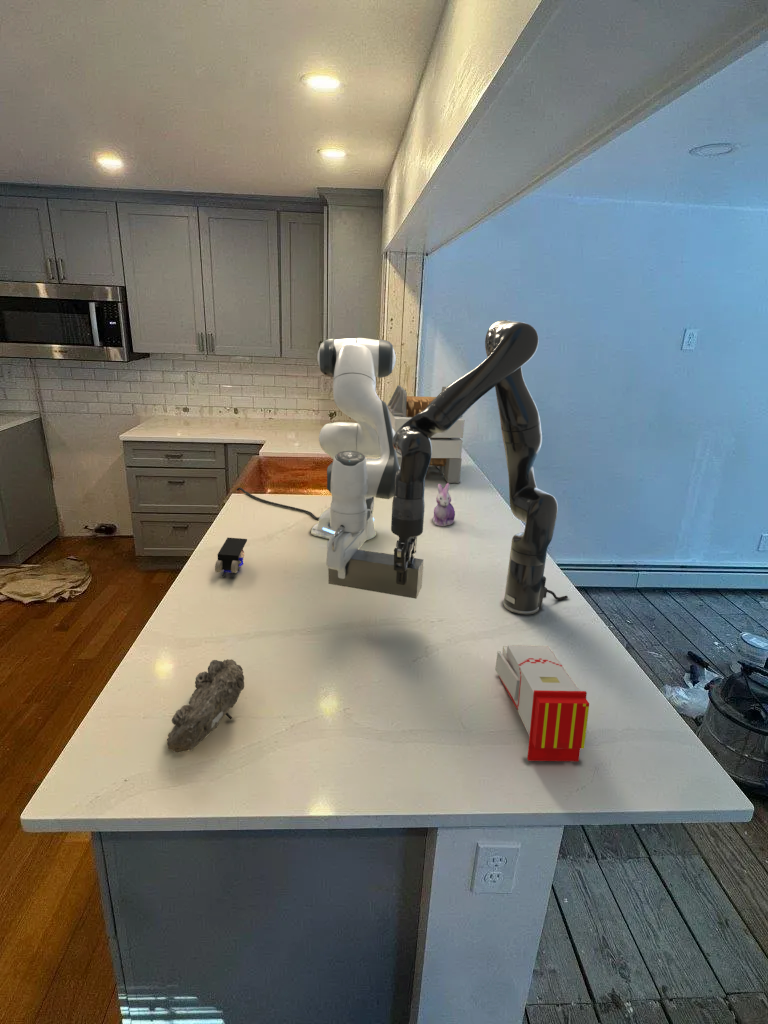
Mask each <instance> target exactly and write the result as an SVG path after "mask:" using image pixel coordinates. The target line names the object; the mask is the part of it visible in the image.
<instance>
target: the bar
mask: <svg viewBox="0 0 768 1024" xmlns="http://www.w3.org/2000/svg"><path fill="white" fill-rule="evenodd" d="M405 558H407V557H405ZM399 565H402V564H401V563H399ZM327 568H328V567H327ZM345 569H346V570H347V575H346V577H345V578H344V579H342V578H338V571H337V570H335V569H330V568H328V569H327V570H328V571H327V572H328V575H327V576H328V577H327V578H328V579H327V580H328V581H327V583H328V585H333V586H339V587H345V588H350V589H355V590H356V589H357V590H362V591H368V592H375V593H380V594H385V595H390V596H391V595H392V596H397V597H398V596H399V597H404V598H409V599H417V598H418V596H419V594H420V593H421V590H422V588H423V576H424V575H423V574H424V573H423V572H424V559H423V558H417V557H414V558H410V561H409V562H408V564H407V570H406V583H405V585H399V584H397V583H396V575H397V571H395V570H394V554H391V553H385V552H377V551H370V550H365V549H359V550H357V551H356V553H355V554H354V555H353V556H352V557H351V559H350V560H349V561H348V562H347V564H346V566H345Z"/></svg>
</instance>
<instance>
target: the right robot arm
mask: <svg viewBox="0 0 768 1024" xmlns="http://www.w3.org/2000/svg"><path fill="white" fill-rule="evenodd" d="M484 348H485V353H486V357H487V358H486V359H484V360H483V361H482V362H481V363H480V364H479V365H477V366H476V367H474V368H473V369H472V370H470V371H468V372H467V373H466V374H464V375H462V376H461V377H458V378H457V379H456V380H454V381H453V382H452V383H450V384H449V385H447V386H445V387H446V388H445V389H444V390H443V391H442V390H441V391H440V392H439V393H438V395H437V396H435V397H436V398H435V399H434V400H433V401H432V402H431V403H430V404H429V405H428V406H427V407H426V408H425V409H424V410H423V411H421V412H420V413H418V414H417V415H415V416H414V417H412V418H411V419H410V420H408V421H407V422H406V423H404V424H403V425H402V426H401V427H400V428H399V429H398V430H397V432H396V433H395V435H394V437H393V447H394V449H395V451H396V452H397V453H398V454H399V455H401V457H402V460H401V467H400V470H398V471H397V472H396V475H395V481H394V496H393V497H392V498H393V499H392V501H391V503H392V504H391V521H390V531H391V533H392V534H393V535H395V536H397V537H398V539H397V540H396V544H395V547H394V549H393V555H394V570H395V571H397V575H396V583H397V584H399V585H405V583H406V570H407V564H408V562H409V561H410V558H415V555H416V553H417V542H418V537H419V536H421V535H422V534H423V532H424V523H425V521H424V519H425V507H426V506H425V505H426V504H425V489H426V477H427V473H428V470H429V467H430V466H429V464H430V460H431V455H432V445H431V441H430V438H431V437H432V436H433V435H435V434H436V433H443V432H446V431H447V430H448V429H449V428H450V427H451V426H452V425H453V424H454V423H455V422H456V421H457V420H458V419H459V418H460V417H461V416H462V417H463V416H464V414H465V413H466V412H468V410H469V409H470V408H471V407H472V406H474V405H475V404H476V403H477V402H478V401H479V400H480V399H481V398H483V397H484V396H485V395H486V394H487V393H489V392H490V391H491V390H492V389H493V388H494V389H495V396H496V403H497V409H498V415H499V421H500V430H501V437H502V443H503V448H504V454H505V461H506V468H507V474H508V494H509V495H508V497H509V498H508V499H509V507H510V510H511V513H512V515H513V516H514V517H515V518H516V519H518V520H520V521H521V522H522V523H525V525H524V526H525V527H524V531H523V532H518V533H516V534H514V535H513V536H512V538H511V542H510V551H509V560H508V567H507V574H506V582H505V590H504V598H503V601H502V602H503V603H502V604H503V607H504V608H505V609H506V610H508V611H509V612H512V613H514V614H517V615H525V616H529V615H533V614H536V613H537V612H539V611H540V610H542V608H543V601H544V599H546V598H547V594H550V595H552V597H553V598H554V599H555V600H557V601H562V600H565V599H568V595H563V596H559V597H558V596H557V595H556V593H555V592H554V591H553V590H550V589H548V588H547V587H546V581H547V576H545V575H544V574H545V568H546V561H547V554H548V548H549V545H550V544H551V542H552V540H553V536H554V533H555V527H556V523H557V518H558V514H559V513H558V512H559V503H558V500H557V499H556V497H555V496H554V495H552V494H551V493H548V492H546V491H545V490H542V489H540V488H538V486H537V482H536V479H535V471H534V469H535V468H534V467H535V462H536V459H537V457H538V455H539V453H540V450H541V447H542V443H543V433H542V423H541V417H540V413H539V410H538V407H537V405H536V402H535V400H534V398H533V396H532V395H531V392H530V391H529V389H528V386H527V384H526V381H525V379H524V376H523V375H524V374H523V369H522V367H523V366H524V365H525V364H526V363H528V362H529V361H530V360H531V359H532V358H533V357H534V355H535V354H536V352H537V350H538V348H539V334H538V331H537V330H536V328H535V327H534V326H532V325H531V324H529V323H527V322H523V321H516V320H509V319H501V320H497V321H495V322H493V323H492V324H491V325H490V327H489V328H488V330H487V331H486V334H485V338H484ZM462 417H461V418H462ZM405 557H407V558H405ZM399 563H401V564H402V565H399Z"/></svg>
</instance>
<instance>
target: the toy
mask: <svg viewBox="0 0 768 1024" xmlns="http://www.w3.org/2000/svg"><path fill="white" fill-rule="evenodd" d="M494 668H495V672H496V673H497V675H498V677H499V680H500V682H501V683H502V685H503V687H504V688H505V691H506V692H507V694H508V696H509V698H510V700H511V701H512V704H513V705H514V707H515V709H516V710H517V713H518V715H519V717H520V719H521V721H522V723H523V725H524V728H525V730H526V732H527V734H528V747H527V759H526V760H527V761H528V762H579V761H580V753H581V750H582V749H585V743H586V737H587V736H586V735H587V727H588V721H589V720H588V719H589V710H590V702H589V701H588V699H587V694H588V693H587V691H586V690H580V688H579V687H578V685H577V684H576V683H575V681H574V680H573V678H572V677H571V676H570V674H569V673H568V672H567V670H566V669H565V667H564V666H563V664H562V663H561V661H560V660H559V659H558V658H557V655H556V653H555V652H554V651H553V650H552V649H551V648H550V646H549V645H531V644H530V645H528V644H507V645H503V646H502V652H501V651H500V650H497V653H496V661H495V667H494Z"/></svg>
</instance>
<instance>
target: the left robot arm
mask: <svg viewBox="0 0 768 1024" xmlns="http://www.w3.org/2000/svg"><path fill="white" fill-rule="evenodd" d="M316 357H317V358H316V360H317V365H318V367H319V371H320V372H321V373H322V374H323V376H327V377H330V378H333V379H332V394H333V395H332V396H333V402H334V404H335V405H336V407H337V408H338V410H339V411H340V412H342V414H344V415H345V416H347V417H348V418H350V419H352V420H353V421H355V422H348V421H336V422H330V423H325V424H324V425H323V426H322V427H321V429H320V431H319V434H318V442H319V446H320V448H321V450H322V451H323V452H324V453H325V454H327V455H328V456H329V457H330V459H332V462H331V463H330V464H329V465H328V466H327V469H326V489H327V490H328V492H329V493H330V495H331V503H330V506H329V507H328V508H326V509H325V510H323V512H321V514H320V515H319V516H318V517H317V516H316V515H314V513H313V512H311V511H309V510H306V509H304V508H300V507H299V508H298V507H295V506H290V505H285V504H282V503H279V502H273V501H269V500H266V499H263V498H260V497H259V496H258V497H257V496H256V495H254V494H252V493H250V492H248V491H246V490H245V489H244V488H242V487H237V488H236V491H241V492H242V493H244V494H245V495H247V496H249V497H251V498H252V499H255V500H257V501H260V502H262V503H266V504H269V505H274V506H276V507H282V508H286V509H290V510H293V511H299V512H303V513H305V514H308V515H310V516H311V517H312V518H313V519H314V520H315V521H316V520H317V523H315V524H314V525H313V526H312V528H311V530H310V533H311V536H315V537H319V538H323V539H326V540H328V543H327V550H326V566H327V568H330V569H335V570H337V571H338V578H342V579H344V578H345V577H346V575H347V570H346V569H345V566H346V564H347V562H348V561H349V560H350V559H351V557H352V556H353V555H354V554H355V553H356V551H357V550H360V548H361V547H362V546H363V545H364V544H365V543H366V541H368V540H372V539H373V538H375V537H376V535H377V532H376V528H375V523H374V522H375V518H374V513H373V512H374V509H375V498H376V499H383V500H384V499H385V500H390V499H392V498H393V497H394V481H395V475H396V472H397V471H398V470H400V466H399V463H398V459H397V454H396V451H395V449H394V447H393V437H394V435H395V431H394V429H393V428H392V425H391V420H390V415H389V411H388V407H387V405H388V404H387V403H386V402H385V401H384V400H383V399H381V398H380V397H379V395H378V394H377V378H378V379H382V378H387V377H389V376H390V375H391V374H392V373H393V371H394V368H395V366H396V363H397V361H396V360H397V355H396V351H395V349H394V345H393V344H392V343H391V341H388V340H385V339H381V338H379V339H375V338H374V339H373V338H365V337H355V338H353V337H352V338H338V339H335V338H329V339H325V340H323V341H322V342H321V343H320V344H319V348H318V351H317V356H316Z"/></svg>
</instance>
